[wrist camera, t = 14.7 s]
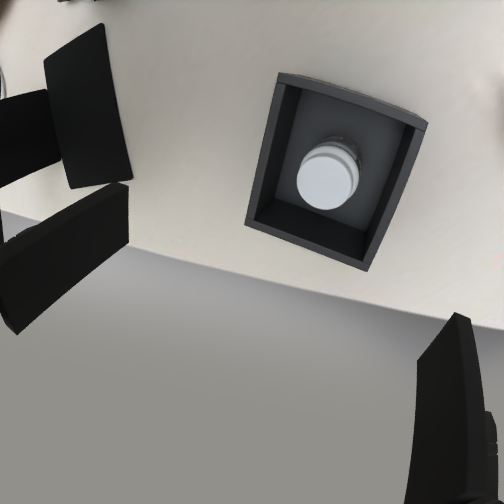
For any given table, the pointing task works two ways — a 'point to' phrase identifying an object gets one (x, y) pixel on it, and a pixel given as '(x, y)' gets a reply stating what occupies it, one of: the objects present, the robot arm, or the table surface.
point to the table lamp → (67, 120)
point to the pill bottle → (330, 173)
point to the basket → (304, 140)
